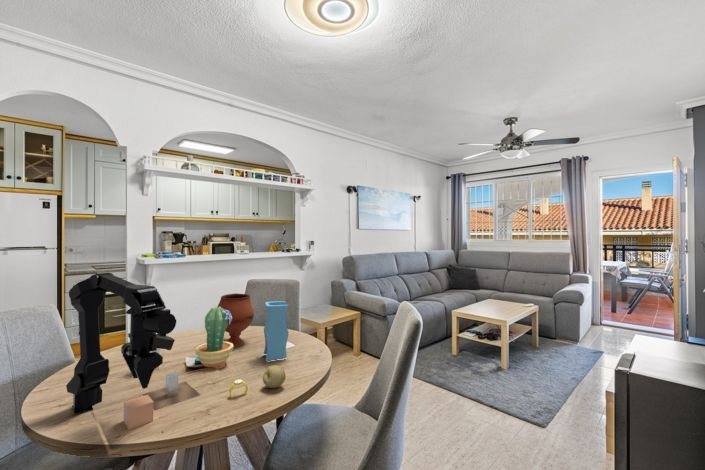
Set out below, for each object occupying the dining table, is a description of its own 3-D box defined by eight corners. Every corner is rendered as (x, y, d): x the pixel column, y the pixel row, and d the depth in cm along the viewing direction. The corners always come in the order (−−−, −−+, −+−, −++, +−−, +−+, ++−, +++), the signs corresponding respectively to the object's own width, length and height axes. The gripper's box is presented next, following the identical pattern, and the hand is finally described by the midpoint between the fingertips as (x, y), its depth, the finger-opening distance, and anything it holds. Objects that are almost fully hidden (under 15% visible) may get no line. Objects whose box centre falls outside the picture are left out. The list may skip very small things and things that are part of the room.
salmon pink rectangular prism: (128, 433, 89) (129, 409, 89) (123, 424, 93) (124, 401, 93) (152, 424, 93) (153, 401, 93) (147, 416, 97) (147, 394, 97)
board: (154, 413, 98) (154, 410, 98) (141, 397, 108) (142, 394, 108) (200, 397, 109) (200, 394, 109) (185, 384, 118) (185, 381, 118)
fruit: (261, 384, 119) (262, 363, 120) (283, 381, 122) (284, 360, 122) (263, 394, 112) (263, 371, 112) (286, 390, 115) (287, 368, 115)
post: (168, 397, 106) (168, 376, 106) (165, 394, 108) (165, 374, 108) (177, 394, 108) (178, 374, 109) (174, 391, 110) (175, 371, 111)
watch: (230, 403, 106) (229, 385, 106) (228, 399, 109) (227, 382, 109) (248, 397, 110) (247, 380, 110) (246, 393, 112) (245, 377, 112)
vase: (287, 360, 144) (289, 305, 144) (265, 362, 140) (267, 306, 141) (284, 352, 153) (285, 300, 153) (263, 354, 150) (264, 301, 150)
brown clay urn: (227, 337, 175) (228, 291, 175) (260, 339, 171) (261, 293, 172) (205, 348, 156) (207, 298, 156) (241, 352, 153) (243, 300, 153)
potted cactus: (215, 375, 126) (217, 312, 127) (185, 369, 131) (187, 309, 132) (240, 361, 141) (242, 305, 141) (213, 356, 146) (214, 302, 146)
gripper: (183, 331, 93) (181, 384, 93) (162, 319, 106) (160, 366, 105) (138, 339, 85) (136, 398, 85) (121, 325, 97) (120, 376, 97)
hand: (140, 382), depth 93 cm, fingers open, 9 cm apart
